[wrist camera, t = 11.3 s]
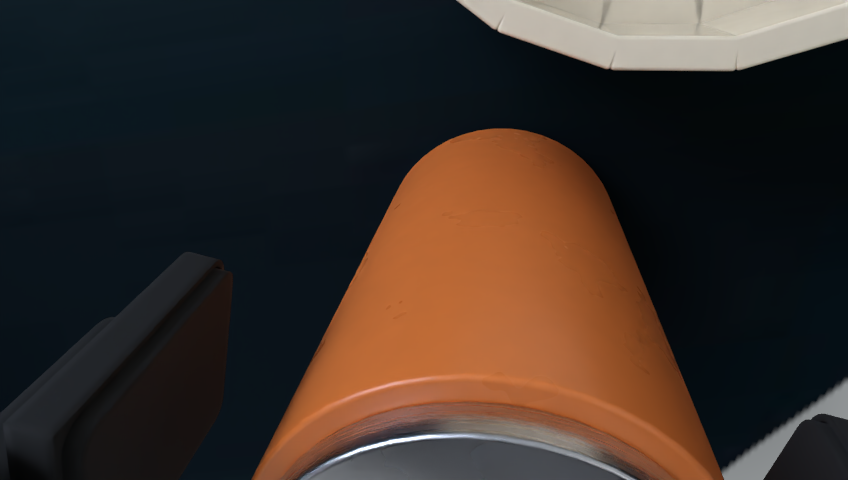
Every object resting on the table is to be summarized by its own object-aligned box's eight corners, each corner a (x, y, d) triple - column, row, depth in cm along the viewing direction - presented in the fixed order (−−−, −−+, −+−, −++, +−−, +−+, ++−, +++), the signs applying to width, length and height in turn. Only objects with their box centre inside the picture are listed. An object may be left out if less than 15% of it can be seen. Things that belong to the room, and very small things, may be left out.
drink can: (428, 91, 17) (275, 327, 6) (653, 169, 17) (904, 540, 6) (366, 288, 20) (185, 691, 9) (560, 354, 20) (618, 836, 9)
